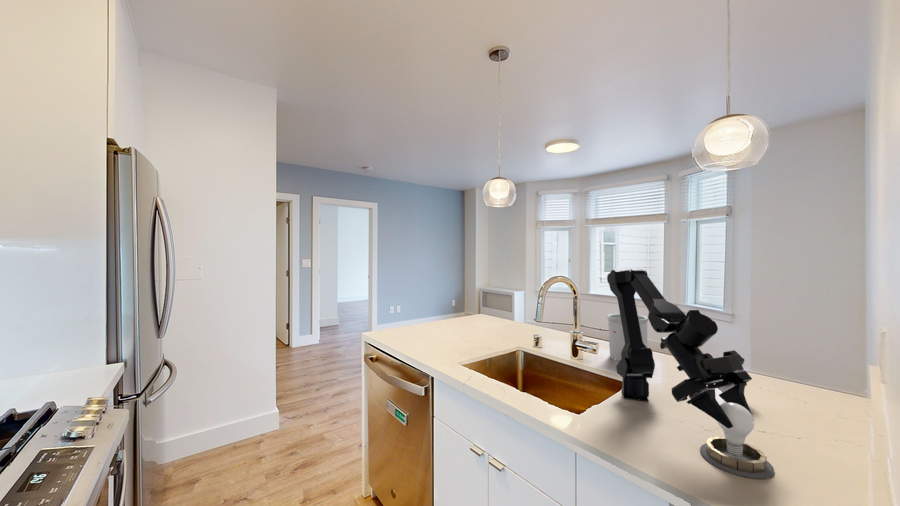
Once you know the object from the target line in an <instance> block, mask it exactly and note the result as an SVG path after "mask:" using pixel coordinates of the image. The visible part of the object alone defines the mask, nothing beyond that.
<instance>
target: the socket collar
mask: <svg viewBox="0 0 900 506" xmlns="http://www.w3.org/2000/svg"><path fill="white" fill-rule="evenodd" d="M705 444H706V452H707V453H708V455H709V457H710V458H712V459H713V460H715V461H716V462H718V463H720V464H722V465H724V466H726V467H729V468H731V469H734V470H738V471H742V472H747V473H761V472H765V470H766V467H767V461H768V460H767V459H768V458H767V456H766V454H765V453H764V452H763V451H762V450H761V449H760V448H757V447H755V446H753V445H751V444H750V443H748V442H744V443H743V453H746V454H748V455H749V456H751V457H753V458H755V459H756V460H753V461H748V460H742V459H736V458H734V457H731V456H728V455H725V454H723V453H721V452H720V451H718V450H716V449H715V448H720V447H723V448H727V441H726V438H725V436H710V437H708V438H707V439H706V440H705Z"/></svg>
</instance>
